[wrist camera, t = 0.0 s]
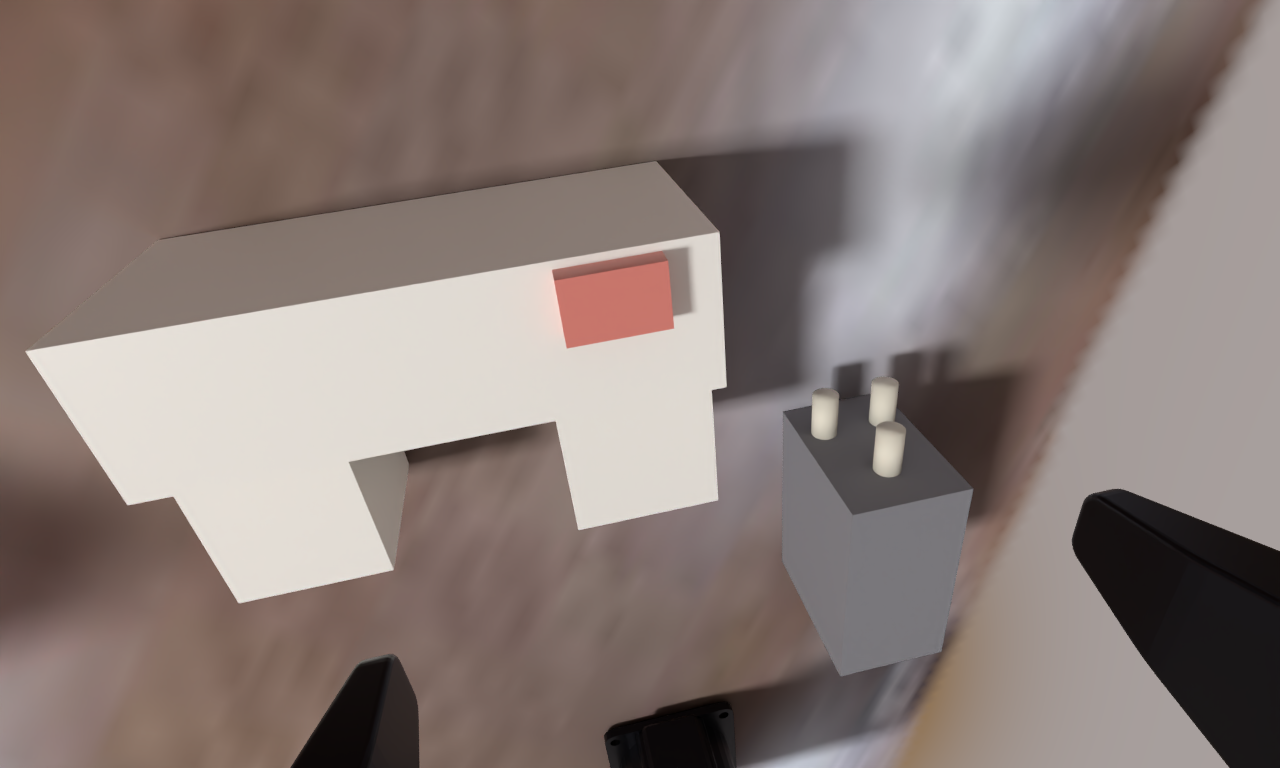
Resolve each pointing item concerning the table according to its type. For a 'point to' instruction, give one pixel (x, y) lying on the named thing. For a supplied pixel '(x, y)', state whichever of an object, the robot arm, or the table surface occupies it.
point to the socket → (401, 363)
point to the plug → (870, 527)
